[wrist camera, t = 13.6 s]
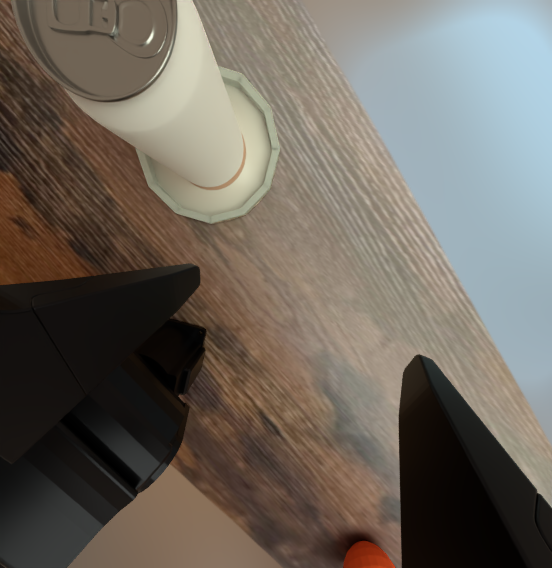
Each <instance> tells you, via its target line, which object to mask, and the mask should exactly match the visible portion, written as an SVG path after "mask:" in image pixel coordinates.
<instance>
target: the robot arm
mask: <svg viewBox="0 0 552 568" xmlns="http://www.w3.org/2000/svg"><path fill="white" fill-rule="evenodd" d="M199 285H200V269H199V267H198V266H196V265H194V264H182V265H174V266H166V267H158V268H151V269H143V270H135V271H128V272H120V273H112V274H104V275H97V276H95V277H94V276H89V277H81V278H72V279H64V280H54V281H44V282H33V283H21V284H10V285H0V568H67V567H68V566H69V565H70V564H71V562H72V561H73V560H74V559H75V558H76V557H77V556H78V555H79V553H80V552H81V551H82V550H83V549H84V548H85V546H86V545H87V544H88V543H89V542H90V541H91V540H92V539H93V538H94V536H95V535H96V534H97V533H98V532H99V531H100V530H101V529H102V528H103V527H104V526H105V525H106V524H107V523H108V522H109V521H110V520H111V519H112V518H113V517H114V516H115V515H116V514H117V513H118V512H119V511H120V510H121V509H123V508H124V507H125V506H127V505H128V504H129V503H130V502H131V501H133V500H134V499H135V498H136V496H137V494H138V493H140V492H142V491H144V490H145V489H146V488H148V487H149V486H150V485H151V484H152V483H153V482H154V481H155V480H156V479H157V478H158V477H159V476H160V475H161V474H162V473H163V472H164V470H165V469H166V468H167V467H168V465H169V464H170V462H171V461H172V460H173V458H174V456H175V455H176V453H177V451H178V450H179V447H180V445H181V443H182V440H183V435H184V431H185V426H186V422H187V417H188V413H189V408H190V407H189V406H188V405H187V404H186V403H184V402H183V401H182V400H181V399H180V398H179V397H178V396H179V394H180V395H185V394H186V393H187V392H188V390H189V388H190V387H191V385H192V383H193V382H194V380H195V378H196V377H197V375H198V373H199V372H200V370H201V367H202V363H203V359H204V355H205V351H206V350H205V348H204V347H203V345H204V341H205V336H206V330H205V328H202V327H199V326H195V325H191V324H188V323H184V322H180V321H176V320H173V319H169V318H170V317H171V316H173V315H174V314H175V313H176V312H177V311H178V310H179V309H180V307H181V306H182V305H183V304H184V303H185V302H186V301H187V300H188V298H189V297H190V296H191V295H192V294H193V293H194V292H195V290H196V289H197V288H198V287H199ZM199 331H201V332H203V334H200V332H199ZM399 459H400V504H401V549H402V568H552V508H551V506H550V505H549V504H548V503H547V501H546V500H545V499H544V498H543V496H542V495H541V494H539V493H537V489H536V488H535V487H534V485H533V484H532V483H531V482H530V480H529V479H528V478H527V477H526V476H525V474H524V473H523V472H522V471H521V469H520V468H519V467H518V466H517V464H516V463H515V462H514V461H513V459H512V458H511V457H510V456H509V454H508V453H507V452H506V451H505V449H504V448H503V447H502V446H501V444H500V443H499V442H498V441H497V439H496V438H495V437H494V436H493V435H492V433H491V432H490V431H489V430H488V428H487V427H486V426H485V425H484V423H483V422H482V421H481V420H480V418H479V417H478V416H477V415H476V413H475V412H474V411H473V410H472V408H471V407H470V406H469V405H468V403H467V402H466V401H465V400H464V398H463V397H462V396H461V395H460V394H459V392H458V391H457V390H456V389H455V387H454V386H453V385H452V384H451V382H450V381H449V380H448V379H447V377H446V376H445V375H444V374H443V372H442V371H441V370H440V369H439V367H438V366H437V365H436V364H435V362H434V361H433V360H432V359H430V358H428V357H425V356H423V355H420V354H419V355H416V356H415V357H414V358H413V359H412V361H411V362H410V363H409V364H408V366H407V367H406V368H405V370H404V372H403V379H402V388H401V398H400V408H399Z"/></svg>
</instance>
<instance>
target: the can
mask: <svg viewBox="0 0 552 568" xmlns="http://www.w3.org/2000/svg"><path fill="white" fill-rule="evenodd" d="M11 3H12V8H13V12H14V16H15V19H16V23H17V25H18V28H19V31H20V33H21V35H22V38H23V40H24V42H25V44H26V45H27V47H28V49H29V51H30V52H31V54H32V55H33V57H34V58H35V60H36V61H37V62H38V64H39V65H40V66H41V67H42V68H43V69H44V71H45V72H46V73H47V74H48V75H49V76H50V77H51V78H52V79H54V80H55V81H56V82H57V83H58V84H60V85H61V86H62V87H63V88H64V89H65V91H66V92H67V93H68V95H69V96H70V97H71V98H72V100H73V101H74V102H75V103H76V104H77V105H78V106H79V107H80V108H81V109H82V110H83V111H84V112H85V113H86V114H87V115H89V116H90V117H91V118H92V119H94V120H95V121H96V122H98V123H99V124H101V125H102V126H103V127H105V128H106V129H108V130H109V131H111V132H112V133H114V134H116V135H117V136H119V137H120V138H122V139H123V140H125V141H126V142H128V143H129V144H131V145H133V146H134V147H136V148H137V149H139V150H140V151H142V152H144V153H145V154H147V155H148V156H150V157H151V158H153V159H154V160H156V161H158V162H159V163H161V164H162V165H164V166H166V167H167V168H169V169H170V170H172V171H173V172H175V173H177V174H178V175H180V176H181V177H183V178H185V179H186V180H188V181H190V182H191V183H193V184H196V185H198V186H202V187H216V186H220V185H222V184H224V183H226V182H228V181H229V180H230V179H231V178H232V177H233V176H234V175H235V174H236V173H237V171H238V170H239V168H240V166H241V163H242V159H243V138H242V134H241V131H240V128H239V125H238V122H237V119H236V116H235V113H234V111H233V108H232V105H231V102H230V99H229V96H228V94H227V91H226V88H225V85H224V82H223V80H222V77H221V74H220V71H219V68H218V66H217V63H216V60H215V57H214V55H213V52H212V49H211V46H210V44H209V41H208V38H207V35H206V33H205V30H204V27H203V25H202V22H201V20H200V17H199V14H198V12H197V10H196V7H195V5H194V3H193V1H192V0H11Z"/></svg>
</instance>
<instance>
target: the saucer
mask: <svg viewBox="0 0 552 568" xmlns="http://www.w3.org/2000/svg"><path fill="white" fill-rule="evenodd" d="M218 68H219V71H220V74H221V77H222V80H223V82H224V85H225V88H226V91H227V94H228V96H229V99H230V102H231V105H232V108H233V111H234V113H235V116H236V119H237V122H238V125H239V128H240V131H241V134H242V138H243V159H242V163H241V166H240V168H239V170H238V171H237V173H236V174H235V175H234V176H233V177H232V178H231V179H230V180H229V181H228V182H226V183H224V184H222V185H220V186H216V187H202V186H198V185H196V184H193V183H191V182H190V181H188V180H186V179H185V178H183V177H181V176H180V175H178V174H177V173H175V172H173V171H172V170H170V169H169V168H167V167H166V166H164V165H162V164H161V163H159V162H158V161H156V160H154V159H153V158H151V157H150V156H148V155H147V154H145V153H144V152H142V151H140V150H139V149H137V148H136V147H135V149H136V152H137V155H138V158H139V161H140V163H141V166H142V169H143V172H144V175H145V178H146V181H147V184H148V186H149V187H150V188H151V189H152V190H153V191H154V192H155V193H156V194H157V195H158V196H159V197H160V198H161V199H162V200H163V201H164V202H165V203H166V204H167V205H168V206H169V207H170V208H171V209H172V210H173V211H174V212H175V213H176V214H180V215H183V216H186V217H190V218H193V219H197V220H200V221H204V222H207V223H210V224H215V223H219V222H224V221H229V220H233V219H236V218H239V217H242V216H246V215H247V214H248V213H249V212H250V211H251V210H252V209H253V208H254V207H255V206H256V205H258V204H259V202H260V201H261V200H262V199H263V198H264V196H265V195H266V194H267V193H268V192H269V191H270V189H271V185H272V181H273V178H274V175H275V171H276V166H277V162H278V158H279V154H280V147H279V142H278V138H277V133H276V129H275V124H274V120H273V115H272V111H271V107H270V106H269V104H268V103H267V102H266V101H265V100H264V99H263V97H262V96H261V95H260V94H259V93H258V91H257V90H256V89H255V88H254V87H253V86H252V84H251V83H250V82H249V81H248V80H247V79H246V77H245V76H244V75H243V74H241V73H238V72H235V71H232V70H229V69H226V68H223V67H220V66H218Z"/></svg>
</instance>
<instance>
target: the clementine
mask: <svg viewBox="0 0 552 568" xmlns="http://www.w3.org/2000/svg"><path fill="white" fill-rule="evenodd" d="M343 568H395V566H394V565H393V563H392V562H391V560H390V559H389V557H388V556H387V554H386V553H385V552H384V551H383V550H382V549H381V548H379V547H378V546H377V545H375V544H373V543H371V542H368V541H359V542H356V543H355V544H353V545H352V546H351V548H350V549H349V550H348V552H347V554H346V557H345V560H344V566H343Z"/></svg>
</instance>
